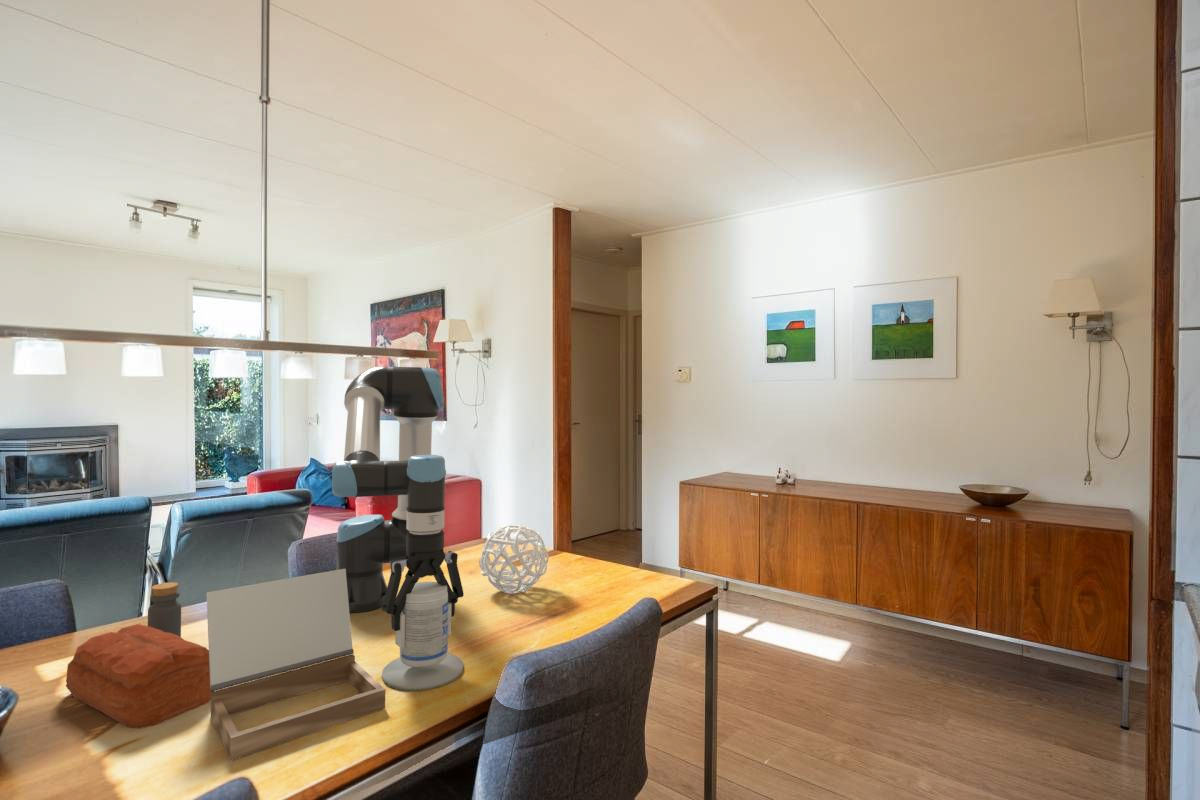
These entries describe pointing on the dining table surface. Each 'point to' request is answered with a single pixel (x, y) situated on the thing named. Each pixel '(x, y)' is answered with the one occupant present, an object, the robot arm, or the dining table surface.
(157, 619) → the bottle
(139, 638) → the bread
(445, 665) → the saucer
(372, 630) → the dining table surface
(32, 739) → the dining table surface
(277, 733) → the tray
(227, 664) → the lid
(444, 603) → the supplement tub
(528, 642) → the dining table surface
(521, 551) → the decorative ball
